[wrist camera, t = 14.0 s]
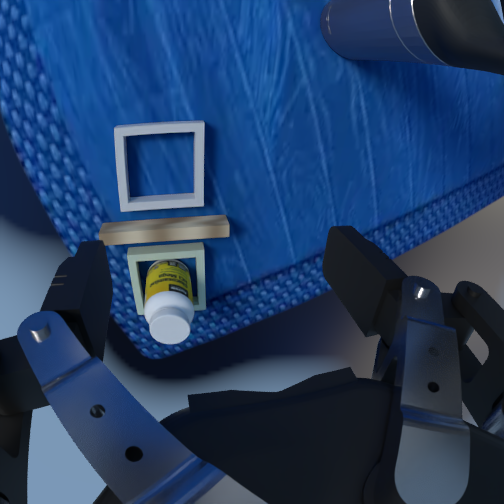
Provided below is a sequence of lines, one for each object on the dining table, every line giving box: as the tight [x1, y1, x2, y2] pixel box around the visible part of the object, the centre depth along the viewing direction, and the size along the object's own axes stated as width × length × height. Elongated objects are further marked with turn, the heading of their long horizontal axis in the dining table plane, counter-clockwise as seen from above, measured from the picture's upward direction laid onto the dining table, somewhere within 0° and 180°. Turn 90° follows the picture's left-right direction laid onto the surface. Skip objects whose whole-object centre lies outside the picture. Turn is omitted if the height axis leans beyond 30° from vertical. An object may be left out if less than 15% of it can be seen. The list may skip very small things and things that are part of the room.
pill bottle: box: [144, 259, 194, 344], centre depth 39 cm, size 6×6×11 cm
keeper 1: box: [114, 121, 205, 212], centre depth 35 cm, size 10×10×2 cm
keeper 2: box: [127, 242, 206, 315], centre depth 43 cm, size 10×10×2 cm
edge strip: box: [99, 215, 229, 245], centre depth 38 cm, size 16×2×3 cm, turn 86°
